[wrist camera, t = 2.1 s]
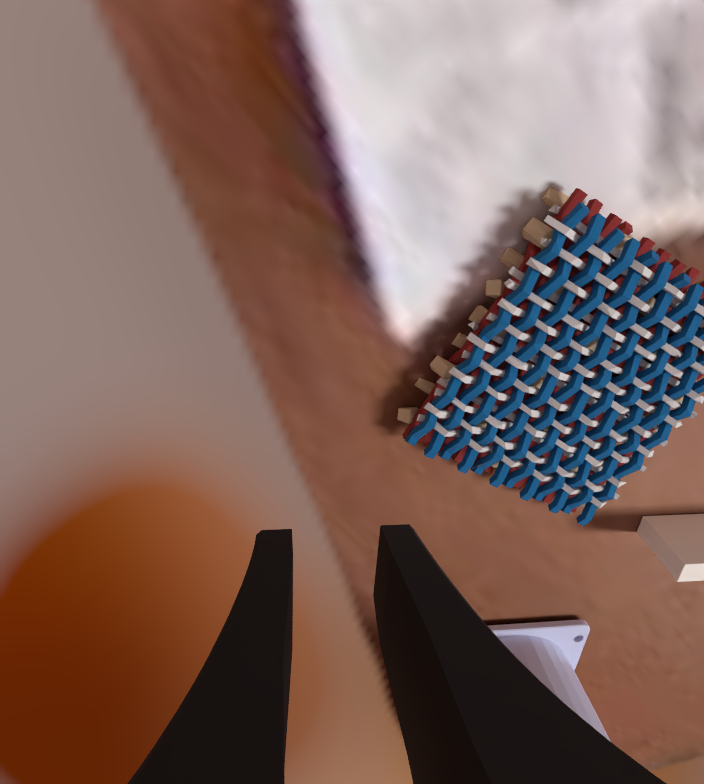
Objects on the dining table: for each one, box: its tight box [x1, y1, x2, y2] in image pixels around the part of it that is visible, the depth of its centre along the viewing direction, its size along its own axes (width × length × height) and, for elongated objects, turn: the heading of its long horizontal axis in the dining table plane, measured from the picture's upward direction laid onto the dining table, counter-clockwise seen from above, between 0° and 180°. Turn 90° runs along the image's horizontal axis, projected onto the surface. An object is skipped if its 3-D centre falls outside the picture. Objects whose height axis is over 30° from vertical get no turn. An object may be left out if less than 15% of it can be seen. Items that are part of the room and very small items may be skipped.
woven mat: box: [397, 187, 704, 526], centre depth 21 cm, size 10×11×2 cm
